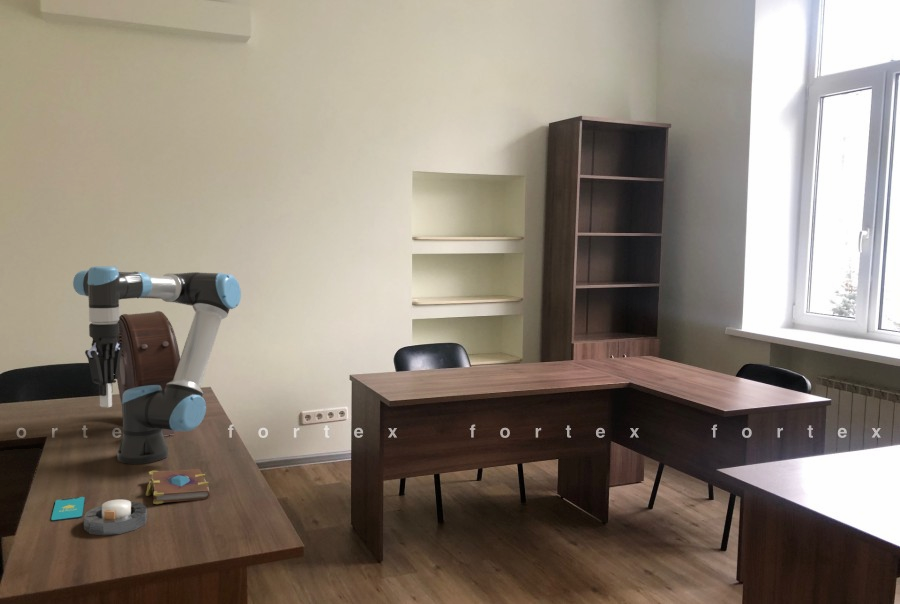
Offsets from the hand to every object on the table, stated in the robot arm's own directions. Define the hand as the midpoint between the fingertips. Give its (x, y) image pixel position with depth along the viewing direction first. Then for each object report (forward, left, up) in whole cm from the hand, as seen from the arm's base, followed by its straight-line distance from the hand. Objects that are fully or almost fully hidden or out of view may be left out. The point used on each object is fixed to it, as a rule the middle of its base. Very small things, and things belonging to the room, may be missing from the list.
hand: (106, 406), depth 201 cm
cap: (+19, +17, -24) cm, 35 cm away
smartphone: (+14, -1, -25) cm, 29 cm away
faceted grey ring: (+19, +17, -24) cm, 35 cm away
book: (-7, +17, -25) cm, 31 cm away
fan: (-62, -30, -25) cm, 73 cm away
